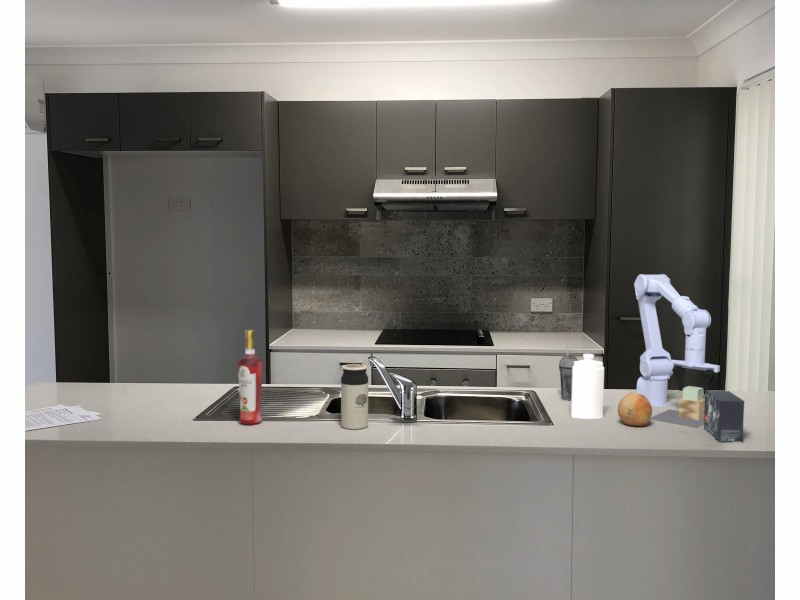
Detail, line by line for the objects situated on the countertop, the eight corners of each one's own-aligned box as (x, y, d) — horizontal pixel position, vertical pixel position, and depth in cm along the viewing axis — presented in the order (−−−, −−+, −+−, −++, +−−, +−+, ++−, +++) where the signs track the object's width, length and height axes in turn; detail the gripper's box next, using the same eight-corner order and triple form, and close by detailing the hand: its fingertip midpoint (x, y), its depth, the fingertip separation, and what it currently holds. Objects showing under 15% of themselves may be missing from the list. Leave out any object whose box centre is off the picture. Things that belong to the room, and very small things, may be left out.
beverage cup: (581, 401, 244) (583, 344, 242) (560, 401, 244) (561, 343, 242) (576, 397, 251) (578, 340, 250) (555, 396, 251) (557, 340, 250)
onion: (616, 428, 210) (617, 395, 209) (618, 420, 219) (619, 388, 218) (651, 432, 207) (652, 398, 206) (651, 423, 216) (652, 391, 215)
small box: (702, 429, 210) (704, 389, 209) (726, 430, 209) (728, 390, 208) (717, 442, 197) (719, 399, 195) (743, 443, 196) (745, 400, 195)
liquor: (233, 424, 212) (232, 331, 209) (247, 419, 218) (246, 328, 216) (254, 427, 209) (253, 332, 206) (268, 421, 216) (267, 329, 213)
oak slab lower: (678, 416, 223) (679, 407, 223) (686, 413, 227) (686, 404, 227) (698, 420, 219) (698, 411, 219) (705, 416, 223) (705, 407, 223)
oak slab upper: (679, 407, 223) (679, 399, 222) (686, 404, 227) (687, 396, 227) (698, 411, 219) (699, 402, 218) (705, 407, 223) (706, 399, 223)
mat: (647, 420, 220) (647, 418, 220) (669, 410, 233) (669, 409, 232) (696, 429, 210) (697, 427, 210) (717, 418, 222) (717, 417, 222)
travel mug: (337, 424, 213) (337, 364, 211) (362, 421, 216) (362, 363, 214) (346, 431, 206) (346, 369, 204) (372, 428, 209) (372, 367, 207)
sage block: (682, 399, 222) (683, 388, 222) (688, 396, 226) (688, 385, 225) (697, 401, 219) (697, 390, 219) (702, 399, 223) (703, 388, 222)
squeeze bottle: (569, 415, 225) (572, 419, 220) (571, 352, 223) (574, 355, 218) (600, 416, 225) (604, 420, 220) (602, 353, 223) (606, 356, 218)
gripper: (666, 347, 223) (665, 390, 224) (714, 353, 213) (712, 397, 215) (675, 345, 228) (674, 387, 230) (722, 350, 219) (720, 394, 220)
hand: (693, 392), depth 222 cm, fingers open, 7 cm apart
